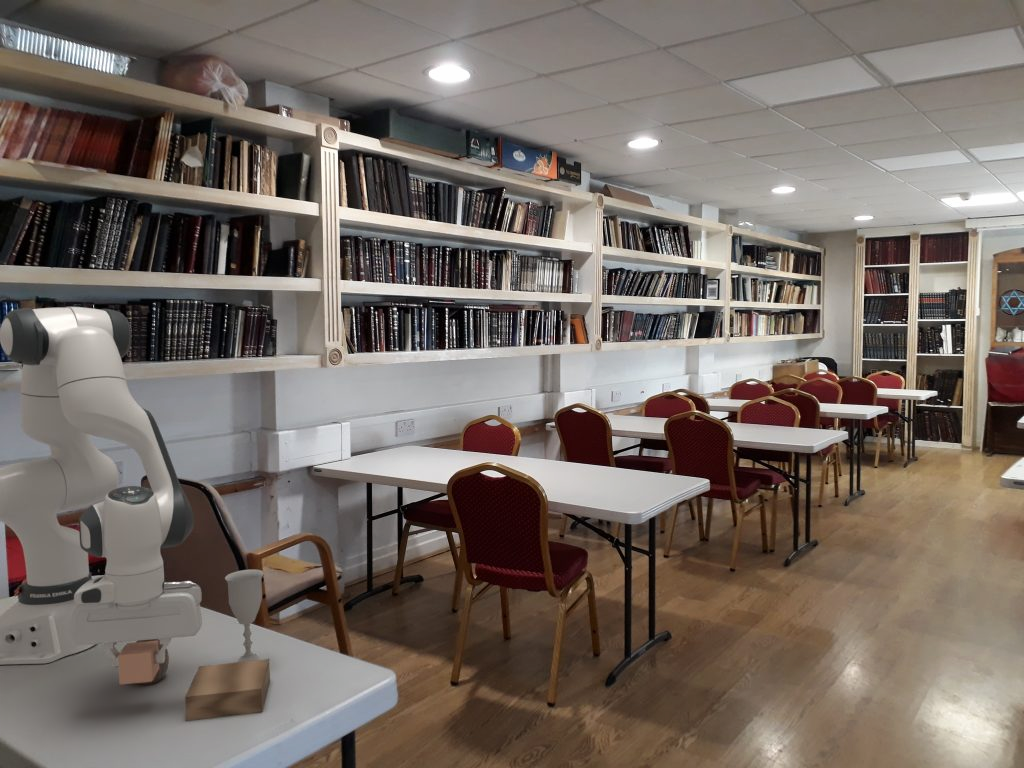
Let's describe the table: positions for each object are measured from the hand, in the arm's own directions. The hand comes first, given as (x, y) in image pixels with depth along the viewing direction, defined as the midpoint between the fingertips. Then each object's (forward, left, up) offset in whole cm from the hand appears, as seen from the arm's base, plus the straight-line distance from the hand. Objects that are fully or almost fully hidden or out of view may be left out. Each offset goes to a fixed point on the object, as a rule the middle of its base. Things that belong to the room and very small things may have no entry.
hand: (139, 664), depth 131 cm
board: (+14, 0, -8) cm, 16 cm away
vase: (-2, +12, -8) cm, 14 cm away
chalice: (+16, +12, -8) cm, 21 cm away
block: (0, 0, -2) cm, 2 cm away
